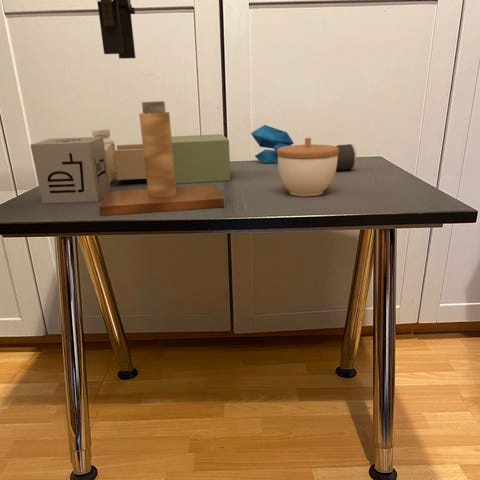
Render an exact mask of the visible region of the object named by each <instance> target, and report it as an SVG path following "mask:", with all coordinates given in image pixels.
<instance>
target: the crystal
mask: <svg viewBox="0 0 480 480" xmlns="http://www.w3.org/2000/svg"><path fill="white" fill-rule="evenodd" d="M250 135H251V136H252V137H253V139H254V141H255V142H256V143H257V144H258V146H259V147H260V148H265V149H263V150H261V151H260V152H258V153H257V154H255V155H254V157H255V158H256V159H257V160H258V161H260V162H261V163H262V164H263V165H267V164H268V165H271V164H272V165H273V164H275V165H276V164H277V165H278V155H277V149H278V148H280V147H284V146H291V145H295V143H294V141H293V139H292V137H291V136H290V134H289V133H288V132H287V131H284V130H281V129H279V128H276V127H272V126H269V125H266V124H264V125H262V126H260V127H259V128H256V129H254V130H253V131H252V132H250Z"/></svg>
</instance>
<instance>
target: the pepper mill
mask: <svg viewBox="0 0 480 480" xmlns="http://www.w3.org/2000/svg"><path fill="white" fill-rule="evenodd" d="M141 109H142V112H140V113H138V116H139V124H140V125H139V126H140V134H141V144H143V152H144V161H145V169H146V178H147V179H146V186H147V189H148V195H149V196H150V197H155V198H162V197H170V196H174V195H176V187H177V184H176V182H175V171H174V160H173V148H172V137H173V136H172V128H171V116H170V111H166V102H165V101H163V100H154V101H153V100H152V101H142V102H141Z"/></svg>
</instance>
